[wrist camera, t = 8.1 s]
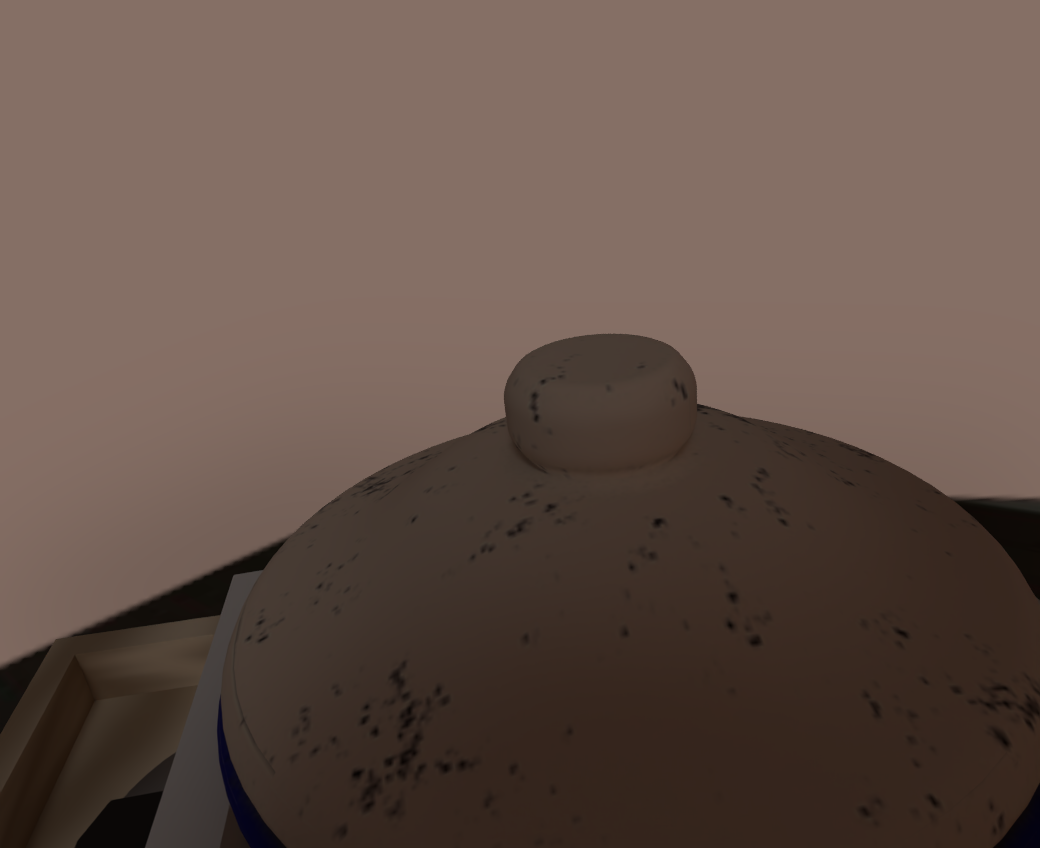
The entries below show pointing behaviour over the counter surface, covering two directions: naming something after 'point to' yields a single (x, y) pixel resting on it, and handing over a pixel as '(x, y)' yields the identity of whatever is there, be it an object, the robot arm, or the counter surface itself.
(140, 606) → the counter surface
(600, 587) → the teacup with lid
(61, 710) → the housing tray
